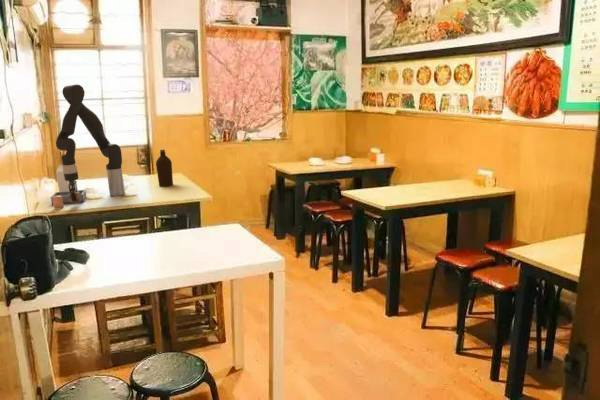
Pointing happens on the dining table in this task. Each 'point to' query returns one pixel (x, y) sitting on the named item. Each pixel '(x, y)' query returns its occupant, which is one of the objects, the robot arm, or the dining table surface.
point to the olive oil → (164, 170)
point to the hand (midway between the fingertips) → (75, 199)
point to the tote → (66, 196)
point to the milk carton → (61, 180)
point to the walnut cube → (76, 197)
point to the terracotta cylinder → (58, 201)
